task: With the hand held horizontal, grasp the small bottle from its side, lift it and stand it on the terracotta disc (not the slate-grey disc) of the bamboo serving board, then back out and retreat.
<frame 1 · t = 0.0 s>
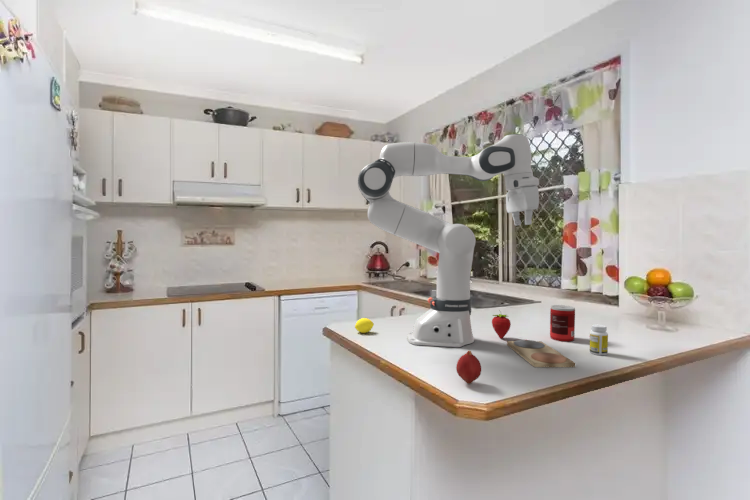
hand: (522, 225, 134), 39 cm above the worktop, tool pointing down, fingers open, 8 cm apart
board: (538, 355, 119), on the worktop
lemon: (364, 333, 146), on the worktop
supplement bottle: (598, 354, 121), on the worktop
onion: (468, 384, 96), on the worktop
canned food: (562, 339, 138), on the worktop
strawberry: (500, 339, 138), on the worktop
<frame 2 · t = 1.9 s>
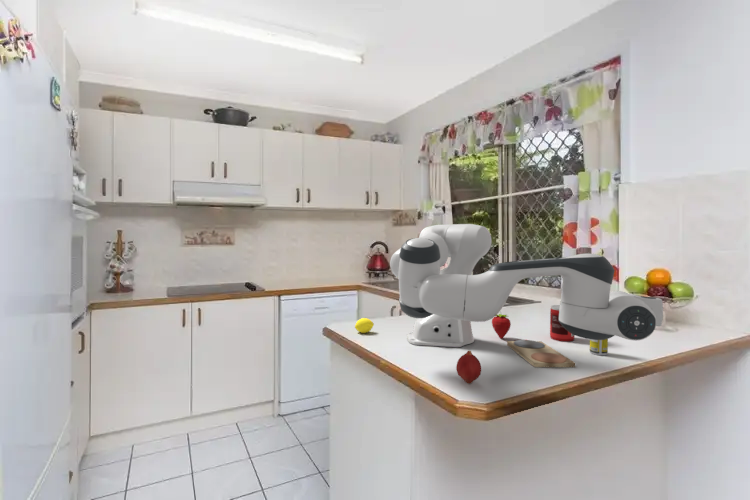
hand: (608, 302, 108), 17 cm above the worktop, tool horizontal, fingers open, 8 cm apart
nothing on the worktop moved.
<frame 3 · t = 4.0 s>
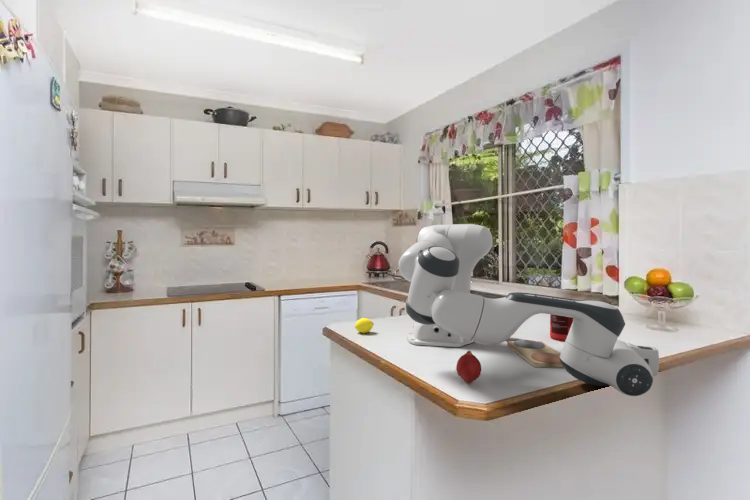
hand: (606, 345, 112), 5 cm above the worktop, tool horizontal, fingers open, 8 cm apart
nothing on the worktop moved.
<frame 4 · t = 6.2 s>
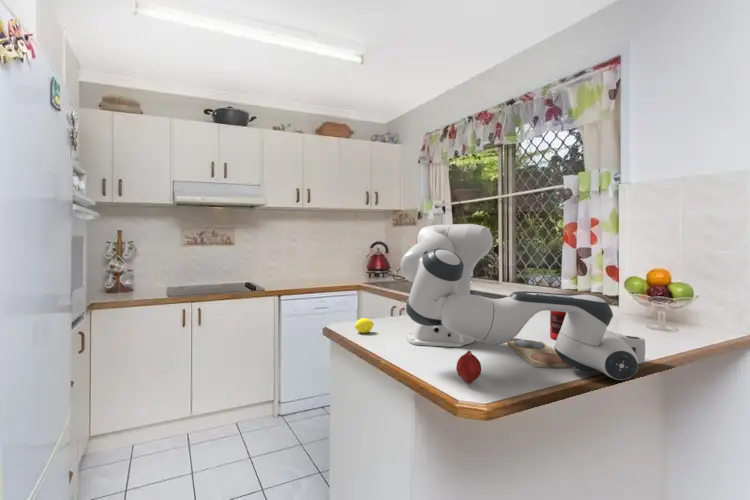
hand: (598, 336, 122), 5 cm above the worktop, tool horizontal, fingers closed on supplement bottle, 5 cm apart
supplement bottle: (598, 354, 121), on the worktop, touching gripper
everything else where it was.
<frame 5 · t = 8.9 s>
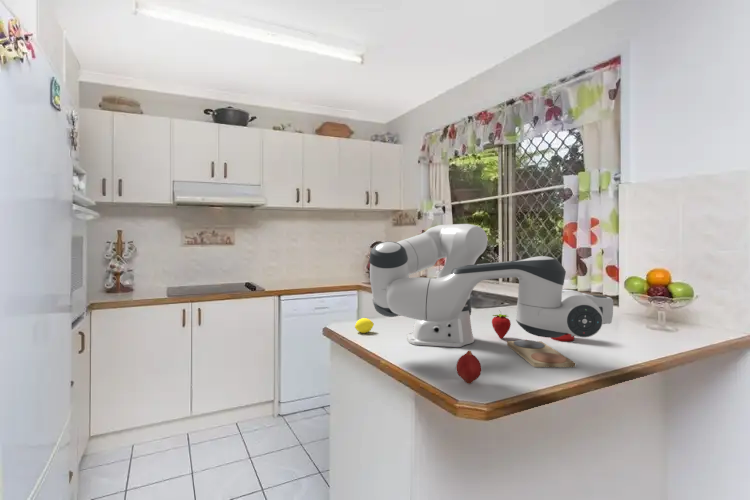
hand: (566, 300, 114), 17 cm above the worktop, tool horizontal, fingers closed on supplement bottle, 5 cm apart
supplement bottle: (566, 320, 113), point 11 cm above the worktop, touching gripper
everything else where it was.
when the fingers open (8 cm above the worktop, at t = 11.5 s): supplement bottle stays where it is, resting on board.
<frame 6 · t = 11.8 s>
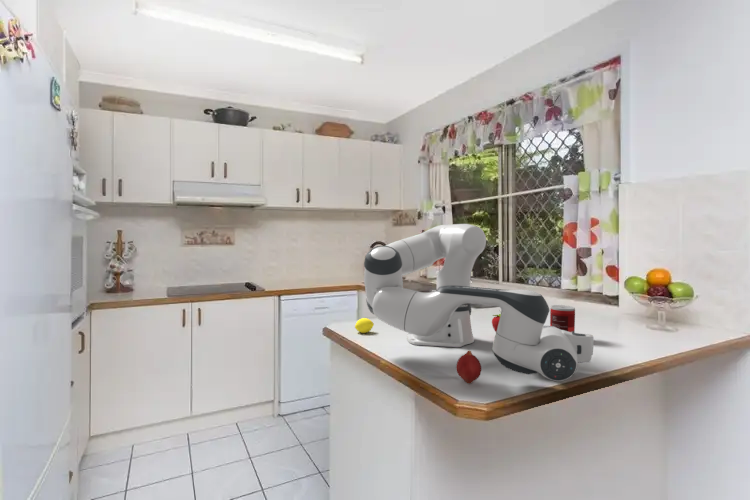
hand: (548, 333, 112), 8 cm above the worktop, tool horizontal, fingers open, 8 cm apart
supplement bottle: (548, 357, 112), point 1 cm above the worktop, touching board
everything else where it was.
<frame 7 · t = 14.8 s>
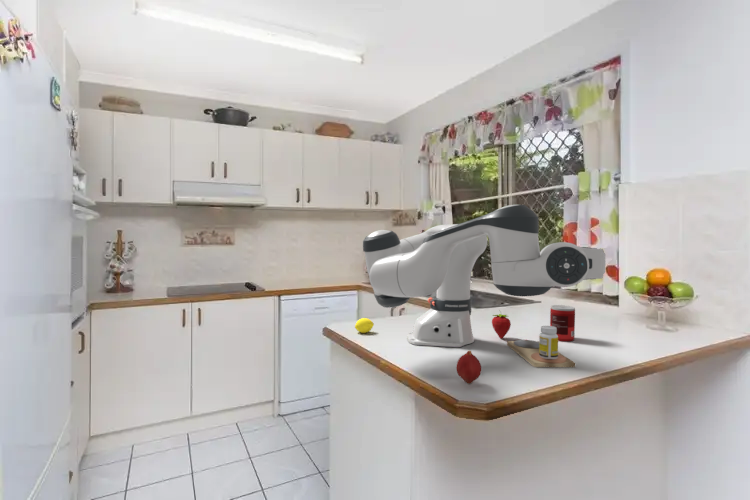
hand: (554, 261, 101), 29 cm above the worktop, tool horizontal, fingers open, 8 cm apart
nothing on the worktop moved.
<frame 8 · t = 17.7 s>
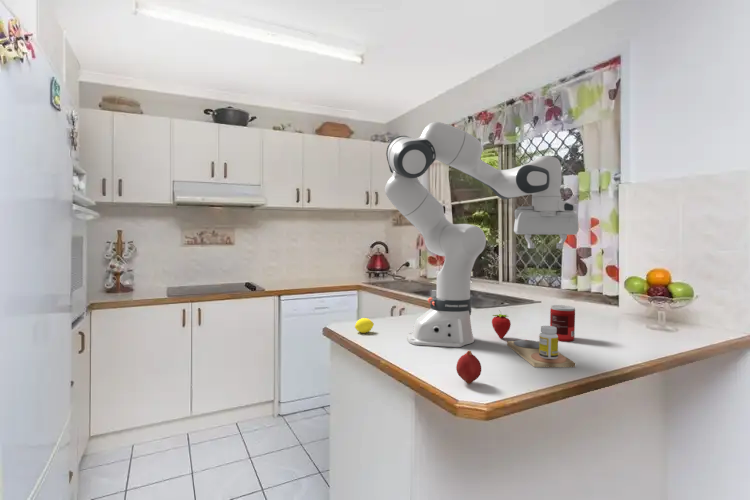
hand: (545, 248, 133), 31 cm above the worktop, tool pointing down, fingers open, 8 cm apart
nothing on the worktop moved.
at the end: supplement bottle inside the target area on the board (0.0 cm from its centre), point 1.3 cm above the board's base; supplement bottle tilted 0°; the gripper is holding nothing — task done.
